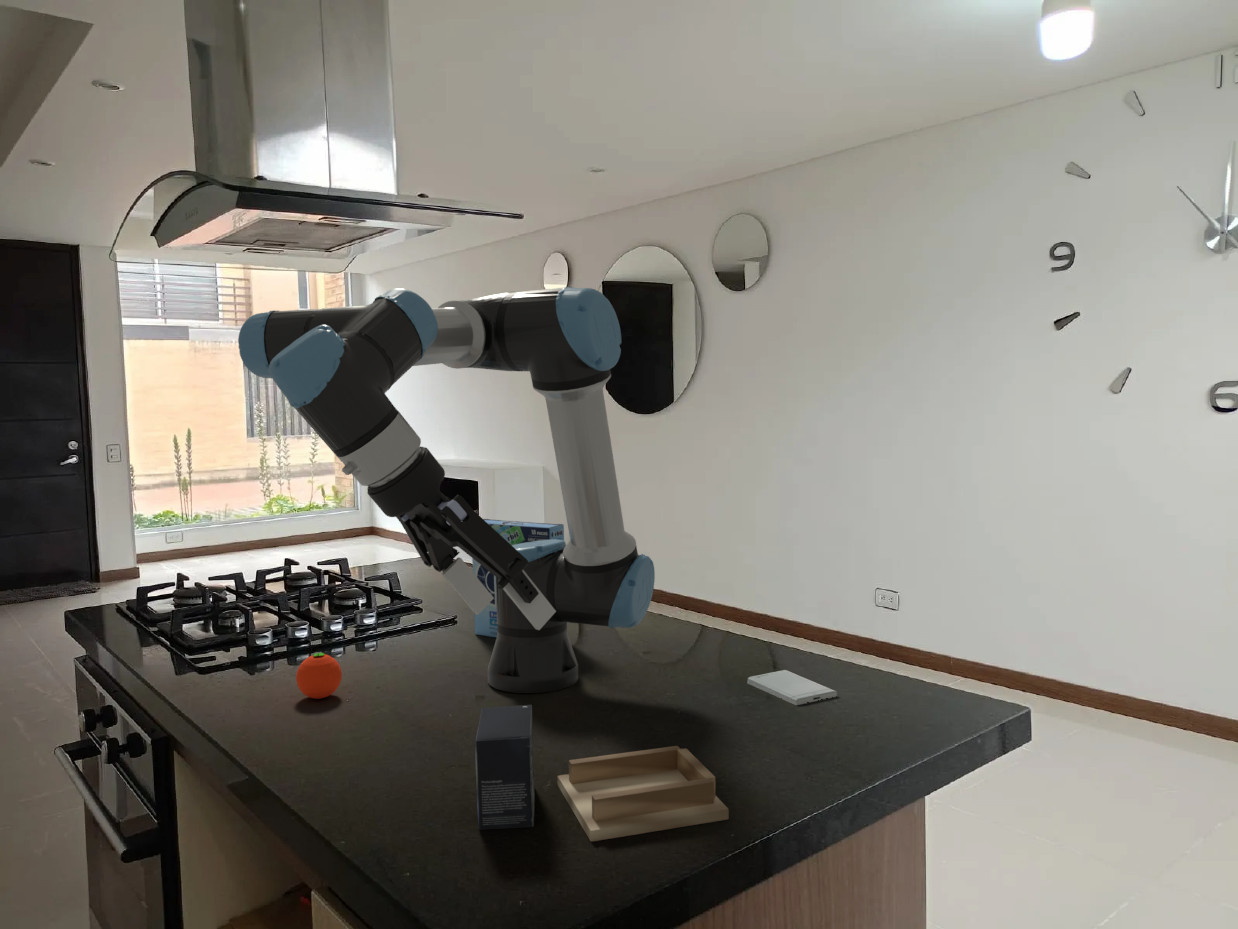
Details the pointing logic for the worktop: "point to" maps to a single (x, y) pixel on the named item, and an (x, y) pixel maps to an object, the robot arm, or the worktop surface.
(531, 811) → the small box
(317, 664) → the clementine
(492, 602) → the gum box
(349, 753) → the worktop surface
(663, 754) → the tray
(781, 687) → the hard drive
